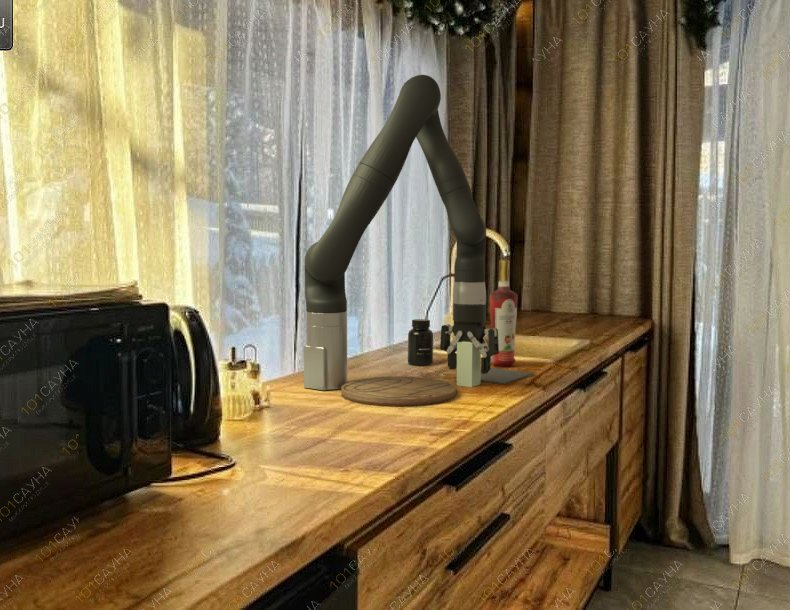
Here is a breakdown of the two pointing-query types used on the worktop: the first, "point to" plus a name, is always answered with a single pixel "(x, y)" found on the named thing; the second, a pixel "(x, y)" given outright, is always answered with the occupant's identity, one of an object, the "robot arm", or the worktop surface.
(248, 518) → the worktop surface
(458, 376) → the block
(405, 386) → the trivet
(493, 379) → the mat
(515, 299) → the red sauce bottle
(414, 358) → the supplement bottle
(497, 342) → the robot arm
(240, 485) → the worktop surface
